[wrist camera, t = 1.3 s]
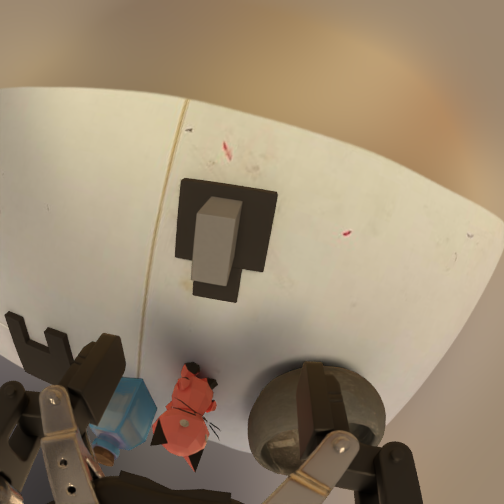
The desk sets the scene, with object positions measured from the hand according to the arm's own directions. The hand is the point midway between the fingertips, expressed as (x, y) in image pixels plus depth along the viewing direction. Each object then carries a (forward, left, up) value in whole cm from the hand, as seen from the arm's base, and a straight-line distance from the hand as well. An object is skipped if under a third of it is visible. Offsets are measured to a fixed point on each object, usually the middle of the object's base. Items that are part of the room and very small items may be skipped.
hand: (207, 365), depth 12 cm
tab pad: (-1, -2, -16) cm, 16 cm away
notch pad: (-3, -35, -16) cm, 39 cm away
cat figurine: (+11, -15, -16) cm, 25 cm away
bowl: (+20, -4, -16) cm, 26 cm away
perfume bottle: (+9, -26, -16) cm, 32 cm away
